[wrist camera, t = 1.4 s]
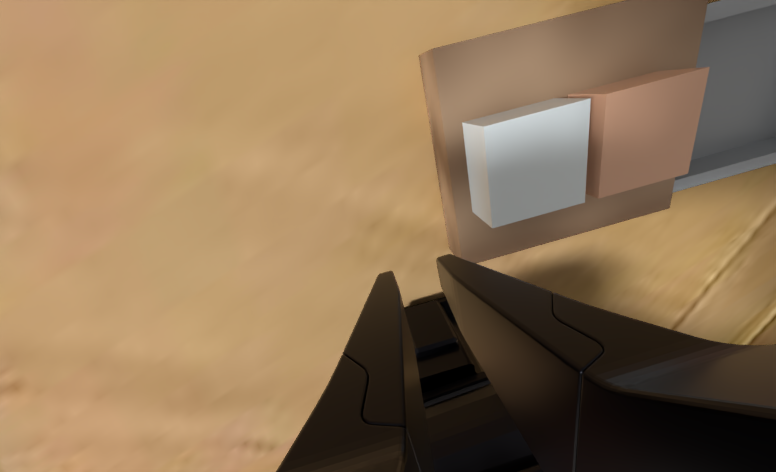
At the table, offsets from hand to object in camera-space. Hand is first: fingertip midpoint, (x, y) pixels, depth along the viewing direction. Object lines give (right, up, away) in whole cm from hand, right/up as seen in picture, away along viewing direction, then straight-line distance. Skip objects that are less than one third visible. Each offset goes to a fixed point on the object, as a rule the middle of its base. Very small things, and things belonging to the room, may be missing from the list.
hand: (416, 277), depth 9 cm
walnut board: (+9, +7, +10) cm, 16 cm away
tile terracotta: (+11, +7, +8) cm, 16 cm away
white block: (+6, +5, +8) cm, 11 cm away
